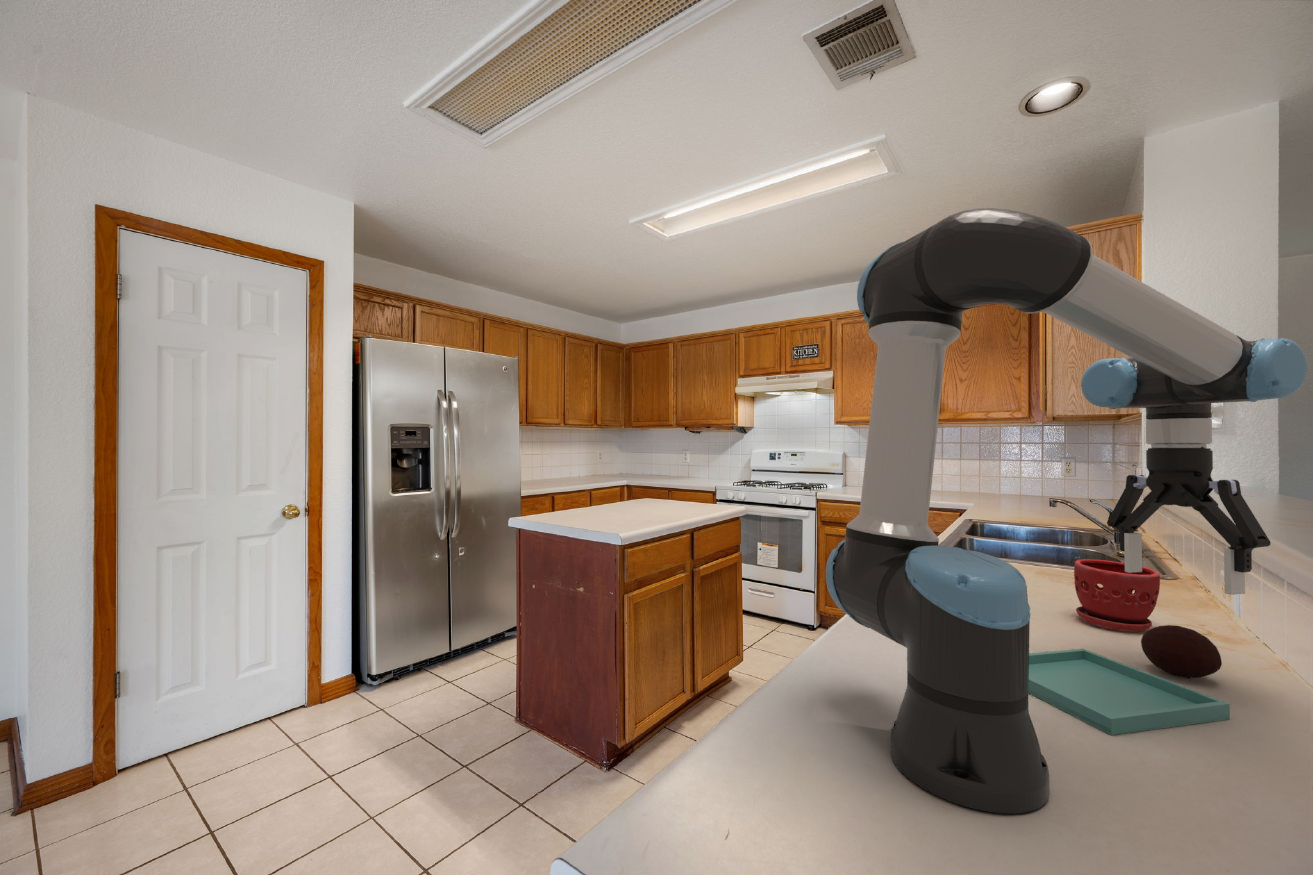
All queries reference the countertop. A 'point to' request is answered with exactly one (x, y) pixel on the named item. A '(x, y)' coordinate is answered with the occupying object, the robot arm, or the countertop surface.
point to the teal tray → (1117, 693)
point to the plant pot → (1115, 595)
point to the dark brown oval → (1181, 651)
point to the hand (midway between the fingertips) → (1180, 582)
